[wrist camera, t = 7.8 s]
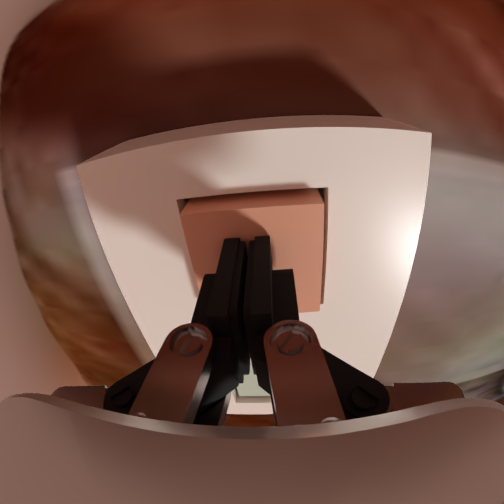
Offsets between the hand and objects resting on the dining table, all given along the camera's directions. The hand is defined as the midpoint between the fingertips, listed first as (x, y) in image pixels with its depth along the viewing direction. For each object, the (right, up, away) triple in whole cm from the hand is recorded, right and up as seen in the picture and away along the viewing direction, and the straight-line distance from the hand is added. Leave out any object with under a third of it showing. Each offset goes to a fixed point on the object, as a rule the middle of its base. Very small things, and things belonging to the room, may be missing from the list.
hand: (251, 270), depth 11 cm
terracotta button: (0, +2, +3) cm, 3 cm away
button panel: (+1, -1, +8) cm, 8 cm away
